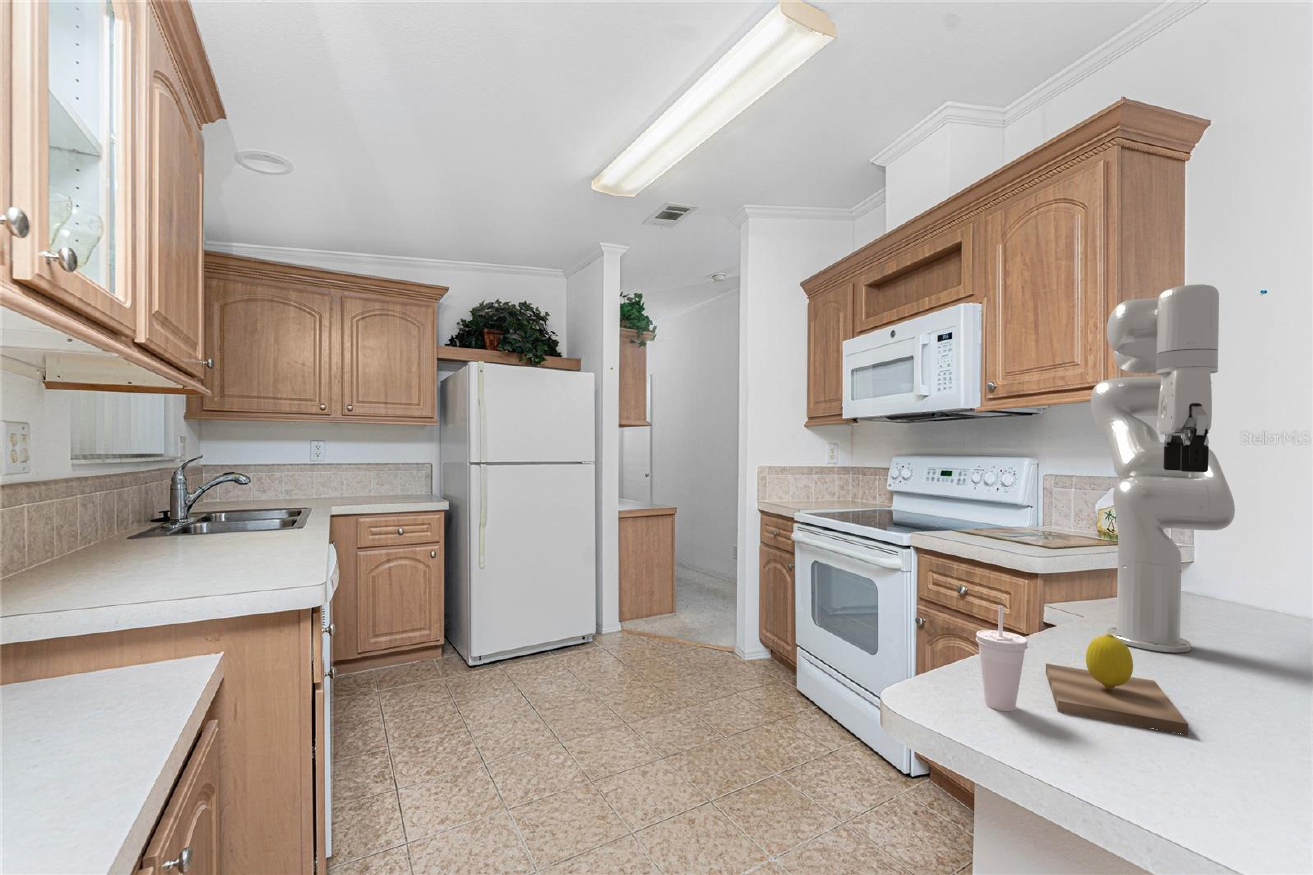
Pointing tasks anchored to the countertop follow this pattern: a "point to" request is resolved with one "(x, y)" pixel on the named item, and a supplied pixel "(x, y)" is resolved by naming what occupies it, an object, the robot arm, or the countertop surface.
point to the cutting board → (1114, 700)
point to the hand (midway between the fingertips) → (1184, 471)
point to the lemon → (1109, 661)
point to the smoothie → (1001, 665)
